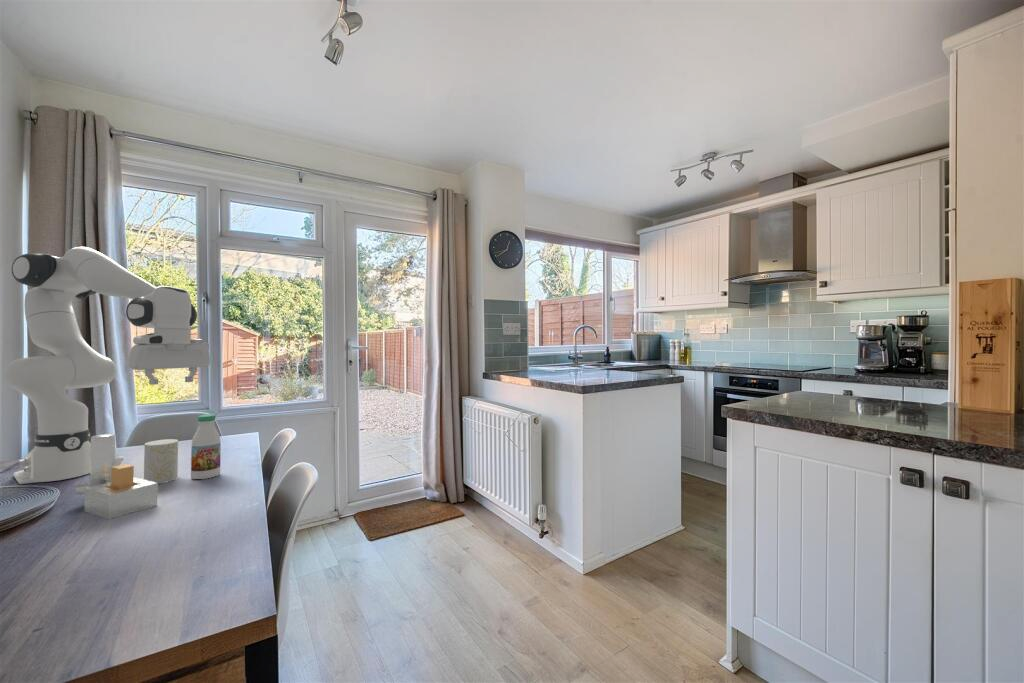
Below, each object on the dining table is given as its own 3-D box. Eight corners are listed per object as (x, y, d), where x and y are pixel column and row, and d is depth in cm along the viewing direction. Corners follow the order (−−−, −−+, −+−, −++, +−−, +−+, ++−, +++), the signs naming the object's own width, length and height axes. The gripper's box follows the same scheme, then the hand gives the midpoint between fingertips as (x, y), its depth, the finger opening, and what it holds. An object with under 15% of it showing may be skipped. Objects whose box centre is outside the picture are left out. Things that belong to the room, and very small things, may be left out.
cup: (147, 486, 125) (148, 446, 125) (140, 480, 130) (141, 442, 130) (180, 479, 131) (181, 441, 131) (173, 474, 136) (173, 438, 136)
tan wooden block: (110, 509, 107) (111, 466, 108) (124, 504, 110) (125, 463, 110) (118, 511, 106) (119, 468, 106) (132, 507, 109) (133, 465, 109)
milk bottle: (185, 477, 133) (186, 416, 133) (212, 471, 139) (213, 412, 140) (198, 481, 129) (199, 418, 129) (225, 475, 136) (226, 414, 136)
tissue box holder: (67, 505, 109) (69, 437, 110) (115, 493, 119) (116, 430, 119) (108, 519, 101) (110, 446, 101) (157, 505, 110) (158, 438, 110)
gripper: (203, 339, 138) (202, 380, 138) (126, 337, 119) (125, 385, 119) (214, 339, 135) (214, 381, 135) (138, 337, 117) (137, 386, 116)
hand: (171, 383), depth 127 cm, fingers open, 8 cm apart
